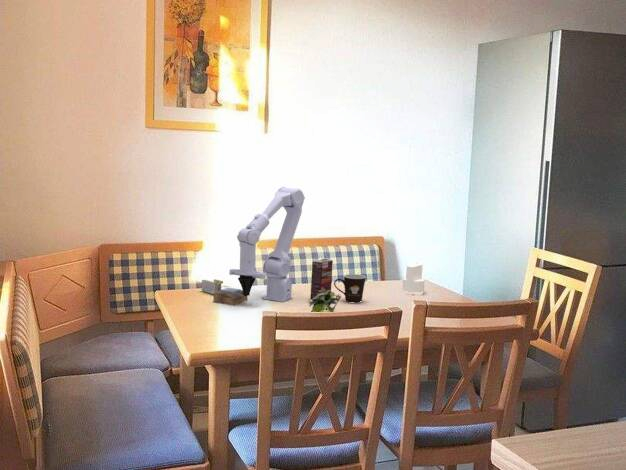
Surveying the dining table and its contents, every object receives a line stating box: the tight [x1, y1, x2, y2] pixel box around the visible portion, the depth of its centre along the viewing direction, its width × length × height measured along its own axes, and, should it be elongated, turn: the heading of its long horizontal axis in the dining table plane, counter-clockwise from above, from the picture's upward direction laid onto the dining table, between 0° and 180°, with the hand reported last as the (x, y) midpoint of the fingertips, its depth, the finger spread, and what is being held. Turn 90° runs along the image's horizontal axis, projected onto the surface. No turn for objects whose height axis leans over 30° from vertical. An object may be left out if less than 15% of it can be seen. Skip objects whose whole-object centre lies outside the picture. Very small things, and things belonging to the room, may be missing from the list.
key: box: [201, 279, 224, 295], centre depth 273 cm, size 11×2×6 cm, turn 50°
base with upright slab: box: [402, 263, 425, 292], centre depth 290 cm, size 9×9×12 cm
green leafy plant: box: [308, 289, 342, 313], centre depth 248 cm, size 11×11×12 cm
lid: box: [221, 287, 242, 296], centre depth 263 cm, size 6×5×2 cm
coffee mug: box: [333, 273, 366, 303], centre depth 271 cm, size 12×9×10 cm
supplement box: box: [309, 258, 334, 301], centre depth 270 cm, size 9×5×16 cm, turn 148°
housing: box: [212, 289, 249, 306], centre depth 263 cm, size 9×10×4 cm
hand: (246, 295), depth 260 cm, fingers closed
